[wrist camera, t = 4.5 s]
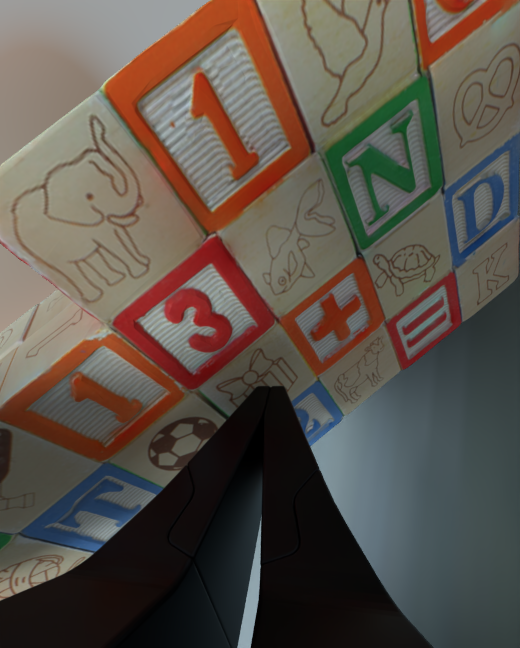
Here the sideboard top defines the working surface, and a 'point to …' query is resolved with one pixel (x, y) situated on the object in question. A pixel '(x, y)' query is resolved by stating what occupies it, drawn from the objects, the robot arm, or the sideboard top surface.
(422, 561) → the sideboard top surface
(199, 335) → the stack of blocks
